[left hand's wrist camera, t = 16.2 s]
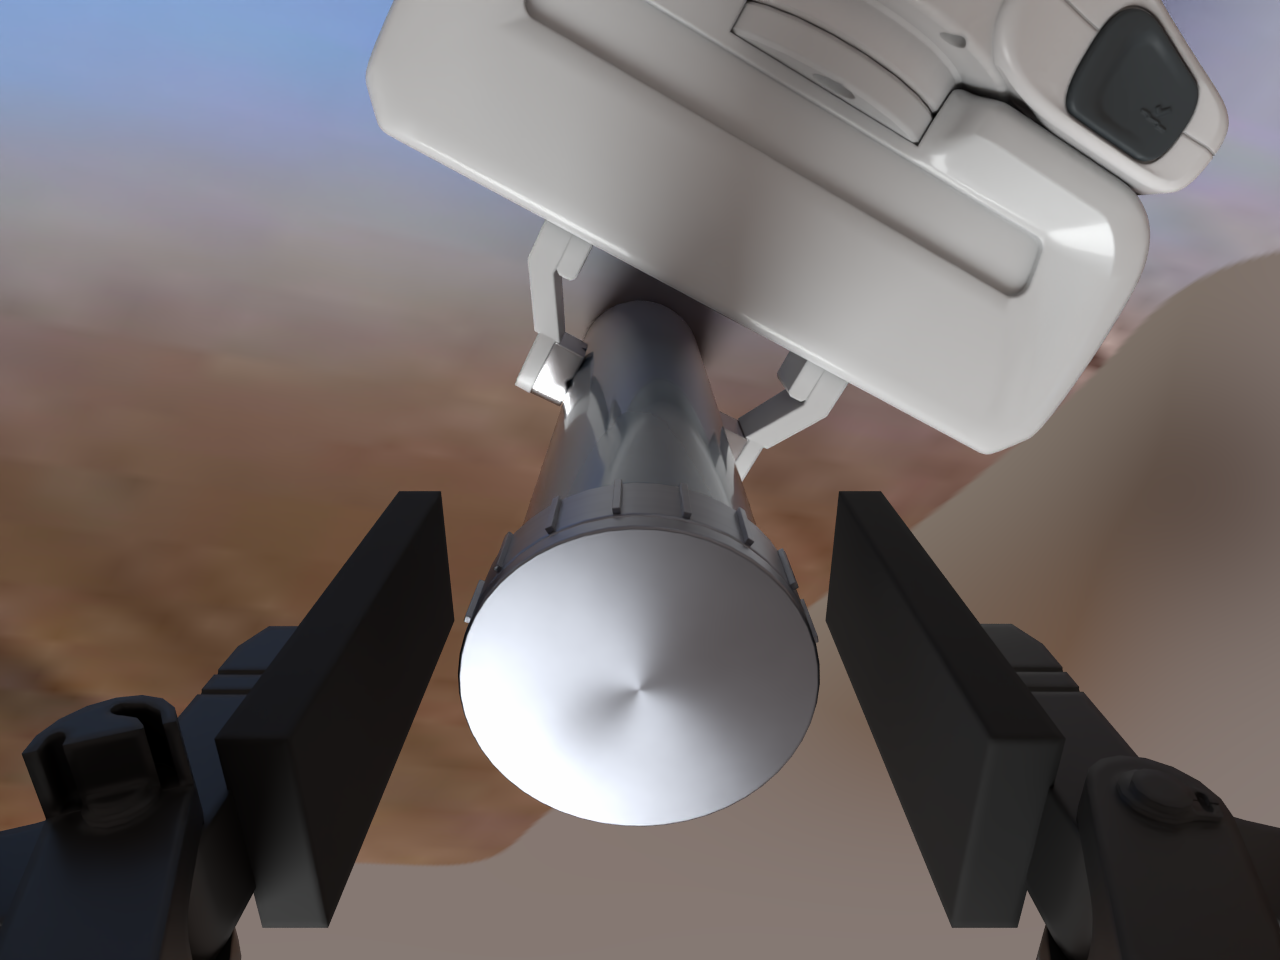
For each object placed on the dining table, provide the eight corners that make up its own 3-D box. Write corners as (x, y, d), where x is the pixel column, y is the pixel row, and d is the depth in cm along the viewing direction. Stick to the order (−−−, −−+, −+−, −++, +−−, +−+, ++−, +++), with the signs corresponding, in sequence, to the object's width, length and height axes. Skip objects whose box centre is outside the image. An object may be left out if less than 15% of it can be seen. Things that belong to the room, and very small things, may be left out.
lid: (597, 407, 11) (590, 443, 9) (872, 595, 12) (904, 653, 10) (415, 658, 12) (385, 723, 11) (674, 803, 14) (678, 879, 12)
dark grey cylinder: (721, 374, 30) (845, 686, 12) (626, 437, 30) (605, 816, 13) (654, 275, 28) (679, 459, 10) (556, 346, 29) (425, 624, 11)
